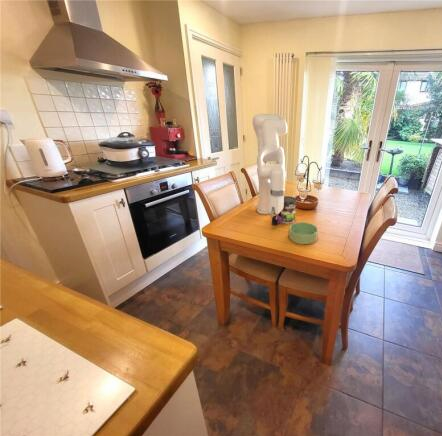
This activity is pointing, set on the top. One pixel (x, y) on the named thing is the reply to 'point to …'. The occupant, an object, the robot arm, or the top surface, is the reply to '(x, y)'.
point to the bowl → (303, 233)
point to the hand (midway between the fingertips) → (276, 222)
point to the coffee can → (288, 210)
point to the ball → (278, 218)
